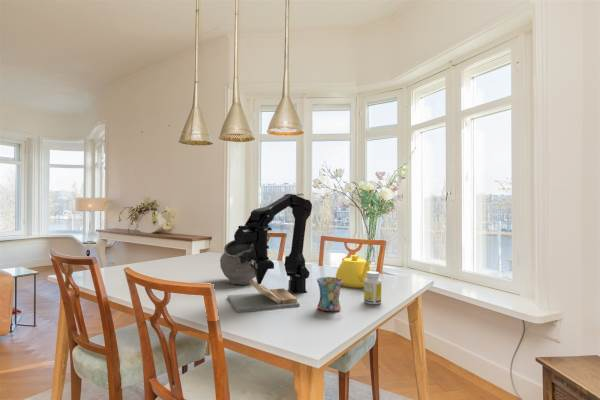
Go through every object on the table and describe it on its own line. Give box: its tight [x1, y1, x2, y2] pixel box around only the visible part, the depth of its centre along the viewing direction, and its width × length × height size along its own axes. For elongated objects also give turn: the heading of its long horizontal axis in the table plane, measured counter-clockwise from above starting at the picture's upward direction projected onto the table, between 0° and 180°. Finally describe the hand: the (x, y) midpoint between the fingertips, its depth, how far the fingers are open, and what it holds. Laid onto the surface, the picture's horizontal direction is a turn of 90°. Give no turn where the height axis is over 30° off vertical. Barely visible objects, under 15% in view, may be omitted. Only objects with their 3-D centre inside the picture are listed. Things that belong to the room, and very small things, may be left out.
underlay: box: [227, 292, 300, 313], centre depth 132 cm, size 23×19×1 cm
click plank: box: [249, 278, 281, 304], centre depth 132 cm, size 9×16×2 cm
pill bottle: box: [363, 270, 382, 305], centre depth 134 cm, size 6×6×12 cm
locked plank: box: [269, 288, 298, 304], centre depth 134 cm, size 6×16×2 cm, turn 21°
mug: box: [316, 276, 343, 312], centre depth 123 cm, size 12×9×11 cm
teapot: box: [335, 254, 373, 289], centre depth 164 cm, size 25×18×14 cm
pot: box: [219, 239, 256, 286], centre depth 164 cm, size 21×21×25 cm
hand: (259, 284), depth 131 cm, fingers closed
